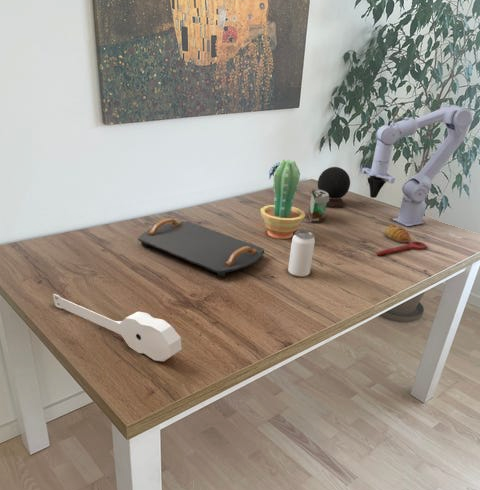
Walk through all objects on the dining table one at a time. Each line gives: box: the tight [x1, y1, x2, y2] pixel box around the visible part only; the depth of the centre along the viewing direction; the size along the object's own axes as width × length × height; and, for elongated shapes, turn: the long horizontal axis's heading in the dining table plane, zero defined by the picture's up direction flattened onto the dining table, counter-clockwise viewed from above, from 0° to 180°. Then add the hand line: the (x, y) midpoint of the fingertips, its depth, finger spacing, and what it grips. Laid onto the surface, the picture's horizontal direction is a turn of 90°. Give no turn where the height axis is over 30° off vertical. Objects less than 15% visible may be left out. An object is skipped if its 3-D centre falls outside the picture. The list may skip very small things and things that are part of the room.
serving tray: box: [137, 218, 265, 280], centre depth 148 cm, size 39×23×6 cm, turn 53°
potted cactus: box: [260, 159, 306, 240], centre depth 161 cm, size 15×15×25 cm
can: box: [287, 230, 316, 278], centre depth 139 cm, size 6×6×12 cm
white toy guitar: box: [52, 293, 182, 362], centre depth 107 cm, size 38×8×4 cm
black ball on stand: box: [317, 166, 351, 209], centre depth 198 cm, size 13×13×15 cm
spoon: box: [376, 241, 427, 257], centre depth 162 cm, size 23×5×2 cm, turn 122°
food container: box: [308, 187, 329, 224], centre depth 181 cm, size 12×6×10 cm, turn 179°
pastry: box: [384, 224, 411, 243], centre depth 171 cm, size 9×7×4 cm
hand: (373, 197), depth 182 cm, fingers closed
